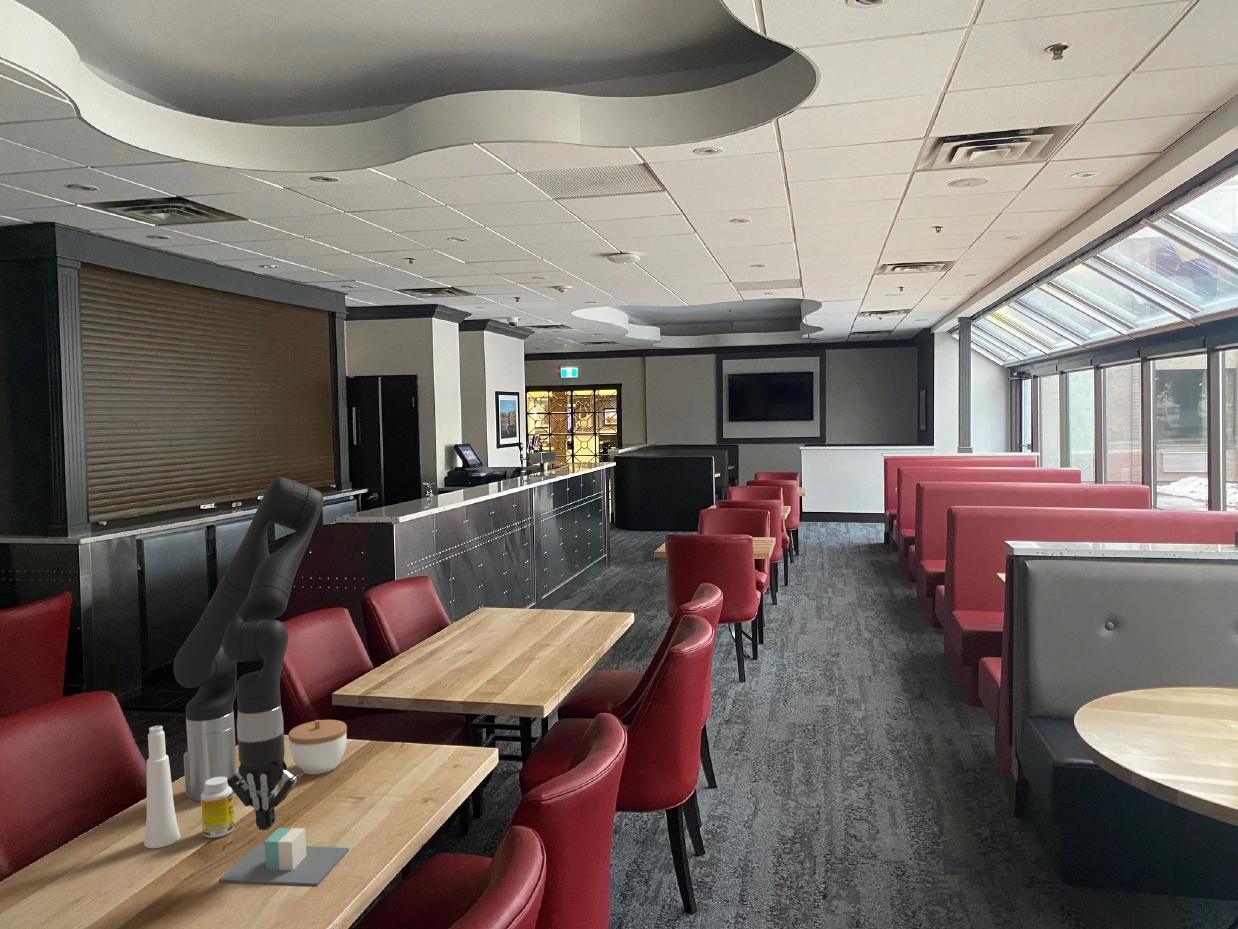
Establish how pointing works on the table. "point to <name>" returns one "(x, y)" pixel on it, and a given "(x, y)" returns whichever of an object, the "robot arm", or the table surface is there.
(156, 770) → the cosmetic bottle
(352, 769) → the table surface
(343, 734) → the lidded bowl
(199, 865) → the table surface
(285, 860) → the two-tone cube
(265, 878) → the slate rubber mat
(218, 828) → the supplement bottle
